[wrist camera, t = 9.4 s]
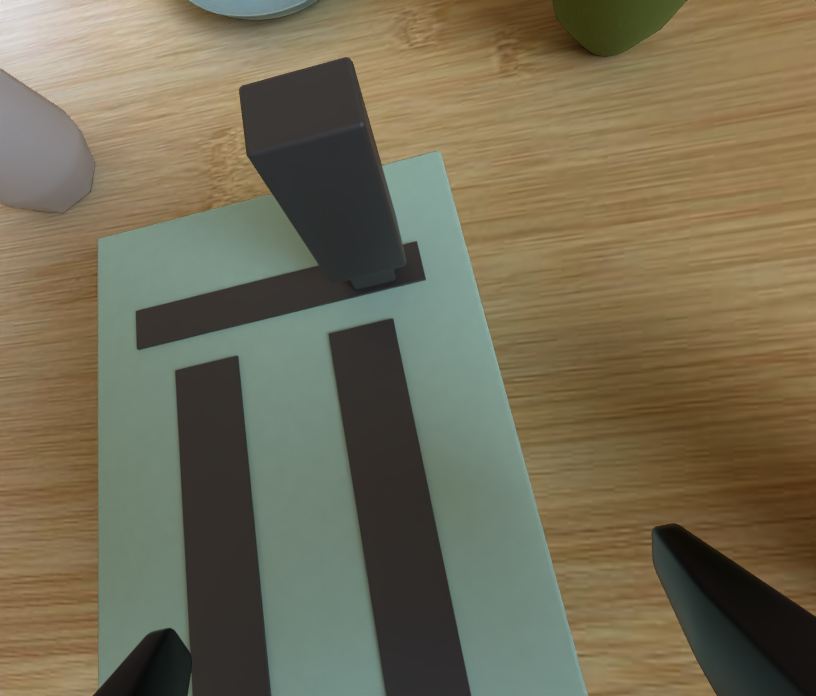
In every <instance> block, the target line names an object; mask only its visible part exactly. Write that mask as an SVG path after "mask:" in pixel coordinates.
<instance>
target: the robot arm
mask: <svg viewBox="0 0 816 696" xmlns="http://www.w3.org/2000/svg"><path fill="white" fill-rule="evenodd" d="M652 558H653V564H654V567H655V570H656V573H657V575H658V577H659V579H660V582H661V584H662V586H663V588H664V590H665V592H666V595H667V597H668V599H669V601H670V603H671V606H672V608H673V610H674V612H675V614H676V616H677V619H678V621H679V623H680V625H681V627H682V630H683V632H684V634H685V636H686V638H687V640H688V643H689V645H690V647H691V649H692V651H693V653H694V655H695V657H696V660H697V661H698V663H699V665H700V667H701V669H702V670H703V672H704V674H705V676H706V678H707V679H708V681H709V683H710V684H711V686H712V688H713V690H714V691H715V693H716V695H717V696H816V617H815V616H814V615H812V614H811V613H809V612H808V611H806V610H805V609H803V608H802V607H800V606H799V605H797V604H796V603H795V602H793V601H792V600H790V599H789V598H787V597H786V596H784V595H783V594H781V593H780V592H778V591H777V590H775V589H774V588H772V587H771V586H769V585H768V584H766V583H765V582H763V581H762V580H760V579H759V578H757V577H756V576H754V575H753V574H751V573H750V572H748V571H747V570H745V569H744V568H743V567H741V566H740V565H738V564H737V563H735V562H734V561H732V560H731V559H729V558H728V557H726V556H725V555H723V554H722V553H720V552H719V551H717V550H716V549H714V548H713V547H711V546H710V545H708V544H707V543H705V542H704V541H702V540H701V539H699V538H698V537H696V536H695V535H693V534H692V533H691V532H689V531H688V530H686V529H685V528H683V527H682V526H680V525H678V524H675V523H671V524H666V525H661V526H657V527H654V528H653V530H652ZM191 670H192V657H191V654H190V652H189V650H188V649H187V647H186V646H185V644H184V643H183V641H182V640H181V638H180V637H179V635H178V634H177V633H176V631H175V630H174V629H172V628H165V629H160V630H155V631H152V632H150V633H148V634H147V635H146V636H145V637H144V638H143V639H142V640H141V642H140V643H139V644H138V645H137V646H136V647H135V648H134V649H133V651H132V652H131V653H130V654H129V655H128V656H127V657H126V659H125V660H124V661H123V662H122V663H121V664H120V665H119V667H118V668H117V669H116V670H115V671H114V672H113V673H112V675H111V676H110V677H109V678H108V679H107V680H106V681H105V682H104V684H103V685H102V686H101V687H100V688H99V689H98V690H97V692H96V693H95V694H94V695H93V696H188V690H189V684H190V677H191Z"/></svg>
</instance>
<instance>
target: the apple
mask: <svg viewBox="0 0 816 696" xmlns="http://www.w3.org/2000/svg"><path fill="white" fill-rule="evenodd" d="M552 1H553V6H554V10H555V15H556V19H557V20H558V21H559V22H560V23H561V25H562V26H563V27H564V28H565V29H566V30H567V32H568V33H569V34H570V35H571V36H572V37H574V38H575V39H576V40H577V41H578V42H579V43H580V44H581V45H582V46H583V47H585V48H586V49H587V50H589V51H590V52H592V53H593V54H595V55H601V56H612V55H618V54H620V53H622V52H624V51H626V50H628V49H630V48H631V47H633V46H635V45H636V44H638V43H639V42H641V41H643V40H644V39H646V38H648V37H649V36H651V35H652V34H654V33H656V32H657V31H659V30H661V29H662V28H663V26H664V25H665V24H666V23H667V22H668V21H669V20H670V19H671V18H672V17H673V15H674V14H675V13H676V12H677V11H678V10H679V9H680V8H681V7H682V5H683V4H684V3H685V2H686V1H687V0H552Z"/></svg>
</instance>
